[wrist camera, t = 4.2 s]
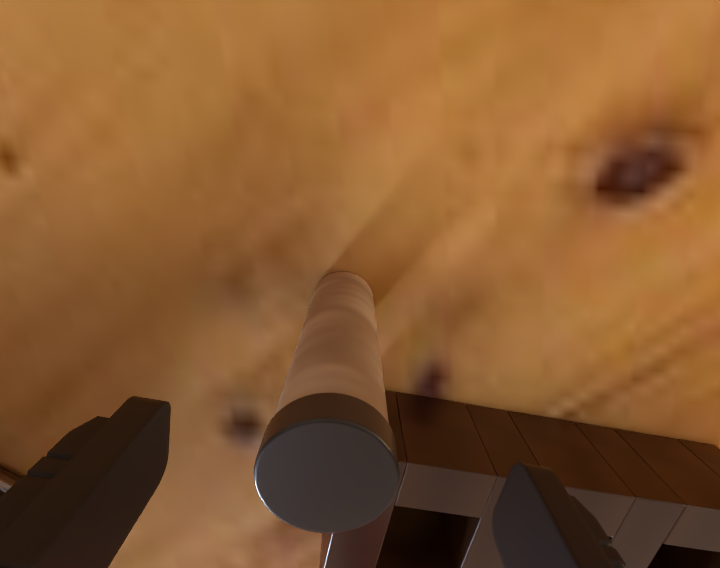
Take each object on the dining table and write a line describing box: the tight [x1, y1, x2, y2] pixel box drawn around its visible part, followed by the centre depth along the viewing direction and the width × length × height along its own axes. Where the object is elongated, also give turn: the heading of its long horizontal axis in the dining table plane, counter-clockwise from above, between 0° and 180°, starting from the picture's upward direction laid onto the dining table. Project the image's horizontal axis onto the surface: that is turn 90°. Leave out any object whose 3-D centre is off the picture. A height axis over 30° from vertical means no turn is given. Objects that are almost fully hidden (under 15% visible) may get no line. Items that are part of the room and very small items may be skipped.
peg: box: [254, 272, 400, 533], centre depth 13 cm, size 3×3×11 cm
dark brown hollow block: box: [319, 391, 720, 568], centre depth 20 cm, size 21×9×5 cm, turn 79°
